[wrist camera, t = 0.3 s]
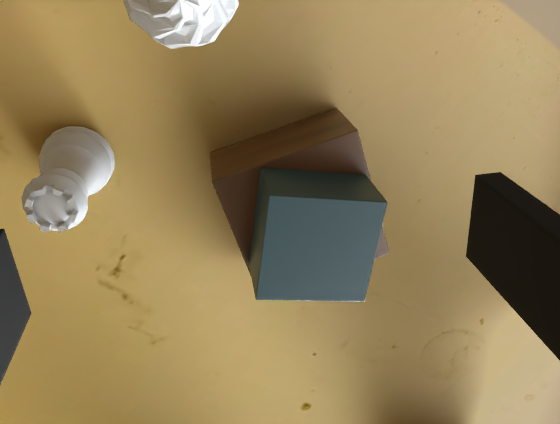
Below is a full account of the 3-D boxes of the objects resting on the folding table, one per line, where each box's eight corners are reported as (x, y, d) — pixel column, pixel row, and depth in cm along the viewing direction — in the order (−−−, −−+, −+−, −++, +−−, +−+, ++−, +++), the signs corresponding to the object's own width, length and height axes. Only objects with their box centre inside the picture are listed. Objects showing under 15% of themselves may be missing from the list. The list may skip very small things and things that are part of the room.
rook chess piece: (29, 165, 34) (-13, 222, 27) (64, 109, 33) (30, 153, 26) (93, 201, 36) (69, 263, 29) (129, 148, 35) (113, 199, 28)
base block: (209, 152, 36) (211, 181, 31) (337, 107, 36) (357, 129, 31) (252, 260, 40) (260, 299, 35) (367, 219, 40) (389, 253, 35)
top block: (260, 167, 31) (269, 195, 28) (366, 174, 33) (387, 202, 29) (248, 263, 34) (255, 299, 30) (347, 266, 35) (364, 302, 32)
